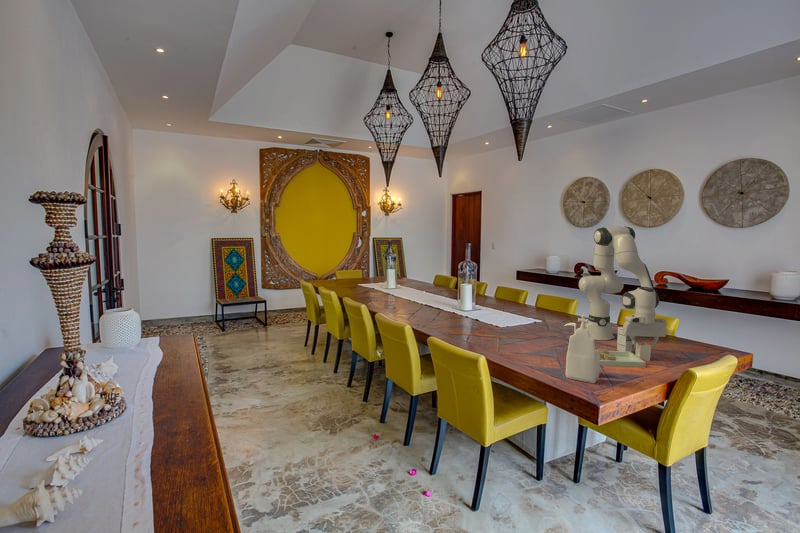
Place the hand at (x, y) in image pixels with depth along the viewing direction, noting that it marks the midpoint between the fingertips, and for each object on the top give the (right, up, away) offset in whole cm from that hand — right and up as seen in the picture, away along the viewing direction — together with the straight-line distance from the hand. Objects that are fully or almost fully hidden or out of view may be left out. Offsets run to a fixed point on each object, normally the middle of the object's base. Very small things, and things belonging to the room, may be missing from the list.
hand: (643, 344), depth 207 cm
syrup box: (-4, -7, +11) cm, 13 cm away
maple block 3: (-22, -8, -8) cm, 25 cm away
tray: (-18, -9, -4) cm, 20 cm away
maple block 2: (-25, -7, -4) cm, 26 cm away
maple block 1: (-21, -7, 0) cm, 22 cm away
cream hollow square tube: (0, -8, +1) cm, 8 cm away
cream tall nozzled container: (-44, -11, -22) cm, 51 cm away
